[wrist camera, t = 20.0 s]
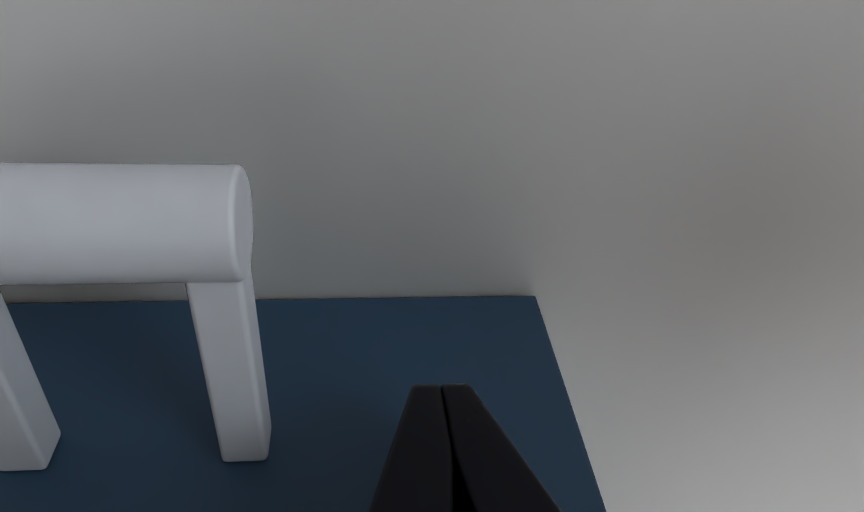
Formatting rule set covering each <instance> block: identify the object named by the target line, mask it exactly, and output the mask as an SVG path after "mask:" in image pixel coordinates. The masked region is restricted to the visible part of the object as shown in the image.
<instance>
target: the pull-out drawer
mask: <svg viewBox="0 0 864 512" xmlns="http://www.w3.org/2000/svg"><path fill="white" fill-rule="evenodd" d="M252 245H253V211H252V199H251V191H250V185H249V181H248V177H247V175H246V172H245V170H244V168H243V167H241V166H239V165H225V164H85V163H0V285H39V284H125V283H185V285H186V290H187V295H188V300H189V301H153V302H84V303H15V304H5V301H4V299H3V297H2V294H1V292H0V512H368V511H369V508H370V505H371V502H372V500H373V497H374V494H375V491H376V488H377V485H378V482H379V479H380V476H381V473H382V470H383V468H384V465H385V462H386V459H387V456H388V453H389V450H390V447H391V444H392V441H393V438H394V436H395V433H396V430H397V427H398V424H399V421H400V418H401V415H402V412H403V409H404V406H405V403H406V401H407V398H408V395H409V392H410V389H411V387H412V386H413V385H414V384H433V383H435V384H438V385H439V386H440V387H441V386H442V385H443V384H445V383H468V384H470V385H471V386H472V387H473V389H474V390H475V391H476V393H477V394H478V396H479V397H480V398H481V400H482V401H483V403H484V404H485V405H486V407H487V408H488V410H489V411H490V412H491V414H492V415H493V416H494V418H495V419H496V421H497V422H498V423H499V425H500V426H501V428H502V429H503V430H504V432H505V433H506V434H507V436H508V437H509V439H510V440H511V441H512V443H513V444H514V446H515V447H516V448H517V450H518V451H519V453H520V454H521V455H522V457H523V458H524V459H525V461H526V462H527V464H528V465H529V466H530V468H531V469H532V471H533V472H534V473H535V475H536V476H537V478H538V479H539V480H540V482H541V483H542V484H543V486H544V487H545V489H546V490H547V491H548V493H549V494H550V496H551V497H552V498H553V500H554V501H555V502H556V504H557V505H558V507H559V508H560V509H561V511H562V512H606V509H605V506H604V503H603V500H602V497H601V494H600V491H599V488H598V485H597V482H596V479H595V476H594V473H593V470H592V467H591V464H590V461H589V458H588V455H587V452H586V449H585V446H584V442H583V439H582V436H581V433H580V430H579V427H578V424H577V421H576V418H575V415H574V412H573V409H572V406H571V403H570V400H569V397H568V394H567V391H566V388H565V385H564V382H563V379H562V376H561V373H560V370H559V367H558V364H557V360H556V357H555V354H554V351H553V348H552V345H551V342H550V339H549V336H548V333H547V330H546V327H545V324H544V321H543V318H542V315H541V312H540V309H539V306H538V303H537V300H536V297H535V296H496V297H427V298H358V299H290V300H255V296H254V288H253V281H252V273H251V265H250V263H251V256H252Z"/></svg>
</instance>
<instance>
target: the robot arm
mask: <svg viewBox="0 0 864 512" xmlns="http://www.w3.org/2000/svg"><path fill="white" fill-rule="evenodd" d="M368 512H562V511H561V509H560V508H559V507H558V505H557V504H556V502H555V501H554V500H553V498H552V497H551V496H550V494H549V493H548V491H547V490H546V489H545V487H544V486H543V484H542V483H541V482H540V480H539V479H538V478H537V476H536V475H535V473H534V472H533V471H532V469H531V468H530V466H529V465H528V464H527V462H526V461H525V459H524V458H523V457H522V455H521V454H520V453H519V451H518V450H517V448H516V447H515V446H514V444H513V443H512V441H511V440H510V439H509V437H508V436H507V434H506V433H505V432H504V430H503V429H502V428H501V426H500V425H499V423H498V422H497V421H496V419H495V418H494V416H493V415H492V414H491V412H490V411H489V410H488V408H487V407H486V405H485V404H484V403H483V401H482V400H481V398H480V397H479V396H478V394H477V393H476V391H475V390H474V389H473V387H472V386H471V385H470V384H468V383H445V384H443V385H442V386H441V387H440V386H439V385H438V384H435V383H433V384H414V385H413V386H412V387H411V389H410V392H409V395H408V398H407V401H406V403H405V406H404V409H403V412H402V415H401V418H400V421H399V424H398V427H397V430H396V433H395V436H394V438H393V441H392V444H391V447H390V450H389V453H388V456H387V459H386V462H385V465H384V468H383V470H382V473H381V476H380V479H379V482H378V485H377V488H376V491H375V494H374V497H373V500H372V502H371V505H370V508H369V511H368Z"/></svg>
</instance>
